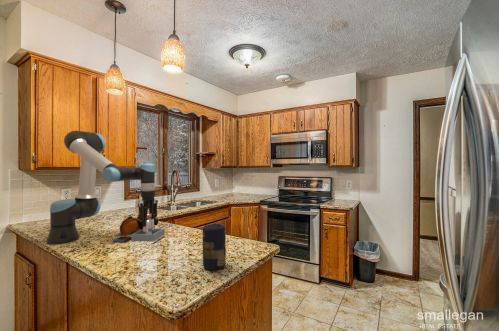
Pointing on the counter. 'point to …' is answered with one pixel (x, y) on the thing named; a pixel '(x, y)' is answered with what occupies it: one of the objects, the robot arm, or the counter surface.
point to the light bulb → (149, 223)
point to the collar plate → (121, 240)
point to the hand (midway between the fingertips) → (148, 231)
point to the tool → (132, 225)
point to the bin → (148, 235)
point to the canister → (214, 246)
